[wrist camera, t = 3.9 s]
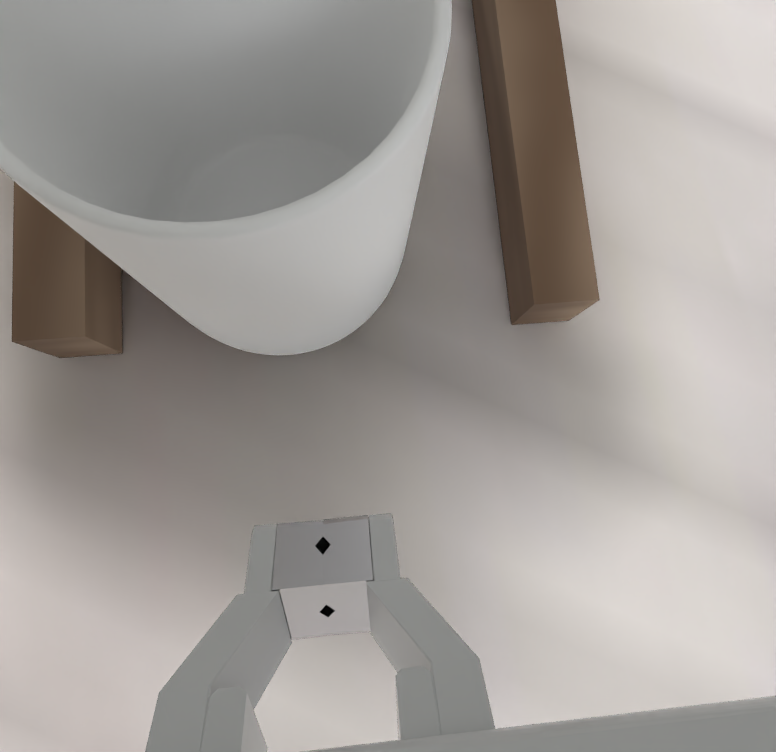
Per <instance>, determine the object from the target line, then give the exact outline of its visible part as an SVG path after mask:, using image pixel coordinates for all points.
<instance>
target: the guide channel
mask: <svg viewBox="0 0 776 752" xmlns="http://www.w3.org/2000/svg"><path fill="white" fill-rule="evenodd" d="M472 5H473V13H474V22H475V30H476V38H477V46H478V54H479V63H480V71H481V79H482V87H483V95H484V103H485V112H486V120H487V128H488V136H489V144H490V152H491V161H492V169H493V177H494V185H495V193H496V202H497V210H498V218H499V226H500V234H501V242H502V251H503V259H504V267H505V275H506V283H507V292H508V300H509V308H510V316H511V324H512V325H516V324H529V323H543V322H557V321H569V320H570V319H572V318H573V317H575V316H576V315H578V314H579V313H581V312H582V311H584V310H585V309H587V308H588V307H590V306H591V305H593V304H594V303H596V302H597V301H599V293H598V286H597V279H596V272H595V266H594V259H593V252H592V245H591V238H590V232H589V225H588V218H587V211H586V205H585V198H584V191H583V184H582V177H581V171H580V164H579V157H578V150H577V143H576V137H575V130H574V123H573V116H572V109H571V103H570V96H569V89H568V82H567V75H566V69H565V62H564V55H563V48H562V42H561V35H560V28H559V21H558V14H557V8H556V1H555V0H472ZM12 342H15V343H18V344H20V345H23V346H26V347H29V348H32V349H35V350H38V351H41V352H44V353H47V354H50V355H53V356H56V357H59V358H65V357H78V356H92V355H106V354H119V353H123V349H122V288H121V267H119V266H118V265H117V264H116V263H114V262H113V261H112V260H111V259H109V258H108V257H107V256H106V255H105V254H103V253H102V252H101V251H100V250H98V249H97V248H96V247H95V246H93V245H92V244H91V243H90V242H88V241H87V240H86V239H85V238H83V237H82V236H81V235H80V234H79V233H77V232H76V231H75V230H74V229H72V228H71V227H70V226H69V225H67V224H66V223H65V222H64V221H62V220H61V219H60V218H59V217H57V216H56V215H55V214H54V213H53V212H51V211H50V210H49V209H48V208H46V207H45V206H44V205H43V204H41V203H40V202H39V201H38V200H36V199H35V198H34V197H33V196H31V195H30V194H29V193H28V192H27V191H25V190H24V189H23V188H22V187H20V186H19V185H18V184H17V183H16V182H15V181H14V220H13V292H12Z"/></svg>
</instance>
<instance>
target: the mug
mask: <svg viewBox="0 0 776 752" xmlns="http://www.w3.org/2000/svg"><path fill="white" fill-rule="evenodd" d="M451 21H452V2H451V0H0V169H1V170H2V171H3V172H4V173H6V174H7V175H8V176H9V177H10V178H11V179H12V180H13V181H15V182H16V183H17V184H18V185H19V186H20V187H22V188H23V189H24V190H25V191H27V192H28V193H29V194H30V195H31V196H33V197H34V198H35V199H36V200H38V201H39V202H40V203H41V204H43V205H44V206H45V207H46V208H48V209H49V210H50V211H51V212H53V213H54V214H55V215H56V216H57V217H59V218H60V219H61V220H62V221H64V222H65V223H66V224H67V225H69V226H70V227H71V228H72V229H74V230H75V231H76V232H77V233H79V234H80V235H81V236H82V237H83V238H85V239H86V240H87V241H88V242H90V243H91V244H92V245H93V246H95V247H96V248H97V249H98V250H100V251H101V252H102V253H103V254H105V255H106V256H107V257H108V258H109V259H111V260H112V261H113V262H114V263H116V264H117V265H118V266H119V267H121V268H122V269H123V270H124V271H126V272H127V273H128V274H129V275H131V276H132V277H133V278H134V279H135V280H137V281H138V282H139V283H140V284H142V285H143V286H144V287H145V288H147V289H148V290H149V291H150V292H152V293H153V294H154V295H155V296H157V297H158V298H159V299H160V300H161V301H163V302H164V303H165V304H166V305H168V306H169V307H170V308H171V309H173V310H174V311H175V312H176V313H178V314H179V315H180V316H181V317H183V318H184V319H185V320H186V321H187V322H189V323H190V324H192V325H193V326H194V327H196V328H197V329H199V330H200V331H202V332H203V333H205V334H206V335H208V336H210V337H211V338H213V339H215V340H217V341H220V342H222V343H224V344H226V345H228V346H231V347H234V348H237V349H240V350H243V351H247V352H252V353H257V354H264V355H295V354H300V353H306V352H311V351H314V350H317V349H320V348H323V347H326V346H329V345H331V344H333V343H335V342H337V341H339V340H341V339H343V338H344V337H346V336H348V335H349V334H351V333H352V332H354V331H355V330H356V329H358V328H359V327H360V326H361V325H362V324H363V323H365V322H366V321H367V320H368V319H369V318H370V317H371V316H372V315H373V313H374V312H375V311H376V310H377V309H378V308H379V307H380V305H381V304H382V302H383V301H384V299H385V298H386V297H387V295H388V294H389V292H390V290H391V288H392V286H393V284H394V282H395V280H396V277H397V275H398V272H399V269H400V266H401V263H402V260H403V257H404V252H405V248H406V243H407V239H408V234H409V229H410V225H411V220H412V216H413V211H414V206H415V202H416V197H417V193H418V188H419V183H420V179H421V174H422V170H423V165H424V160H425V156H426V151H427V147H428V142H429V137H430V133H431V128H432V123H433V119H434V114H435V110H436V105H437V100H438V96H439V91H440V87H441V82H442V77H443V73H444V68H445V63H446V58H447V53H448V48H449V43H450V38H451Z"/></svg>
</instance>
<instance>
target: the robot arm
mask: <svg viewBox="0 0 776 752" xmlns="http://www.w3.org/2000/svg"><path fill="white" fill-rule="evenodd" d="M368 518H369V520H368ZM369 530H370V531H369ZM363 632H371V635H372V636H373V638H374V639H375V641H376V642H377V643H378V645H379V646H380V648H381V649H382V651H383V652H384V654H385V655H386V657H387V658H388V660H389V661H390V663H391V664H392V666H393V667H394V669H395V670H396V672H397V673H398V674H397V675H396V699H397V724H398V740H395V741H387V742H378V743H370V744H361V745H352V746H344V747H335V748H327V749H318V750H310V751H301V752H776V696H770V697H761V698H753V699H744V700H736V701H727V702H719V703H710V704H702V705H693V706H685V707H676V708H668V709H659V710H651V711H642V712H634V713H625V714H617V715H608V716H600V717H591V718H583V719H574V720H566V721H557V722H549V723H540V724H532V725H523V726H515V727H506V728H498V729H495V726H494V721H493V717H492V713H491V708H490V704H489V699H488V695H487V691H486V686H485V682H484V677H483V673H482V669H481V664H480V660H479V658H478V657H477V655H476V654H475V653H474V652H473V651H472V650H471V649H470V648H469V646H468V645H467V644H466V643H465V642H464V641H463V640H462V639H461V638H460V636H459V635H458V634H457V633H456V632H455V631H454V630H453V629H452V627H451V626H450V625H449V624H448V623H447V622H446V621H445V620H444V618H443V617H442V616H441V615H440V614H439V613H438V612H437V611H436V609H435V608H434V607H433V606H432V605H431V604H430V603H429V602H428V601H427V599H426V598H425V597H424V596H423V595H422V594H421V593H420V592H419V590H418V589H417V588H416V587H415V586H414V585H413V584H412V583H411V581H410V580H409V579H408V578H400V570H399V563H398V555H397V547H396V539H395V531H394V523H393V517H392V514H391V513H388V514H377V515H369V517H368V515H362V516H353V517H344V518H334V519H325V520H324V521H309V522H295V523H280V524H268V525H256V526H254V529H253V531H252V536H251V544H250V551H249V559H248V566H247V574H246V582H245V589H244V594H240V595H236V597H235V598H234V599H233V600H232V602H231V603H230V604H229V605H228V607H227V608H226V609H225V610H224V612H223V613H222V614H221V616H220V617H219V618H218V619H217V621H216V622H215V623H214V624H213V626H212V627H211V628H210V629H209V631H208V632H207V633H206V634H205V636H204V637H203V638H202V639H201V641H200V642H199V643H198V644H197V646H196V647H195V648H194V649H193V651H192V652H191V653H190V654H189V656H188V657H187V658H186V660H185V661H184V662H183V663H182V665H181V666H180V667H179V668H178V670H177V671H176V672H175V673H174V675H173V676H172V677H171V678H170V680H169V681H168V682H167V683H166V685H165V686H164V687H163V688H162V690H161V691H160V692H159V695H158V700H157V704H156V708H155V712H154V717H153V721H152V725H151V729H150V734H149V738H148V742H147V746H146V751H145V752H267V750H268V747H267V745H266V742H265V739H264V737H263V734H262V732H261V729H260V726H259V724H258V721H257V718H256V716H255V713H254V708H255V706H256V705H257V703H258V701H259V699H260V698H261V696H262V694H263V692H264V691H265V689H266V687H267V685H268V684H269V682H270V680H271V678H272V677H273V675H274V673H275V671H276V670H277V668H278V666H279V664H280V663H281V661H282V659H283V657H284V656H285V654H286V652H287V650H288V649H289V647H290V645H291V643H292V642H291V640H297V639H305V638H312V637H320V636H327V635H337V634H350V633H363Z"/></svg>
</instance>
